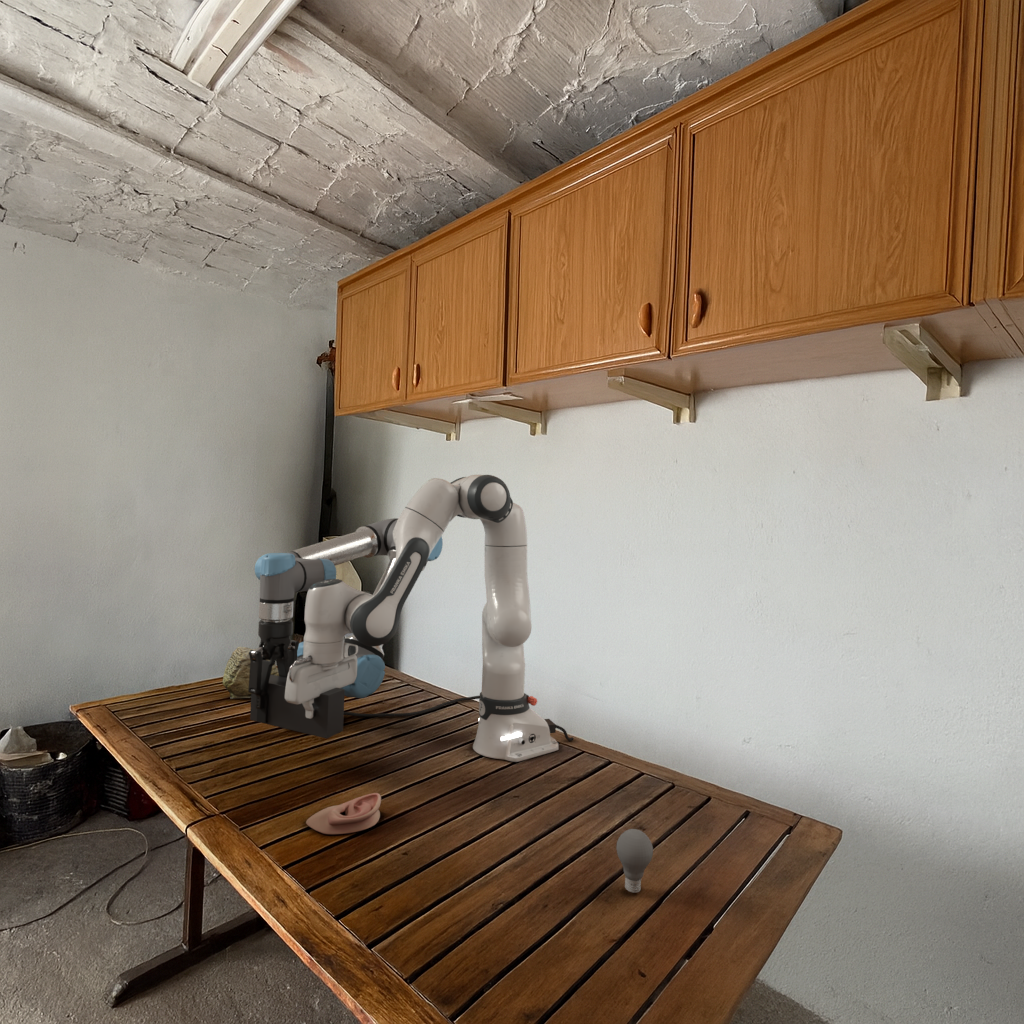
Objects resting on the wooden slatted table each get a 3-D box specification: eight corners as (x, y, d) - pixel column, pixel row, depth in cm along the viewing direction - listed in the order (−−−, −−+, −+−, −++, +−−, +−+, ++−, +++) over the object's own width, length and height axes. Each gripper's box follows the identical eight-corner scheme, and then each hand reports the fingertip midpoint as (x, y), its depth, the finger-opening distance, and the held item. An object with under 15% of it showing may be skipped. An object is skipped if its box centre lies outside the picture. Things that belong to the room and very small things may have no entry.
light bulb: (610, 879, 108) (613, 822, 108) (644, 879, 109) (647, 822, 109) (619, 902, 102) (622, 840, 102) (655, 901, 103) (658, 840, 103)
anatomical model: (298, 809, 120) (327, 783, 131) (297, 830, 120) (327, 802, 131) (363, 819, 117) (388, 791, 128) (362, 840, 117) (387, 811, 128)
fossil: (218, 695, 195) (220, 647, 195) (278, 685, 208) (279, 640, 207) (228, 703, 189) (230, 653, 188) (289, 692, 201) (290, 645, 201)
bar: (250, 720, 148) (251, 679, 148) (267, 713, 153) (269, 673, 153) (326, 738, 139) (328, 695, 138) (343, 730, 144) (344, 689, 143)
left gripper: (257, 628, 138) (253, 733, 139) (315, 615, 155) (312, 709, 156) (232, 623, 141) (228, 727, 142) (292, 611, 158) (288, 704, 159)
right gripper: (302, 663, 132) (299, 729, 132) (362, 645, 150) (360, 702, 151) (278, 659, 134) (276, 724, 134) (341, 641, 153) (339, 698, 153)
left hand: (272, 717), depth 149 cm, fingers closed on bar, 5 cm apart
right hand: (321, 712), depth 143 cm, fingers closed on bar, 5 cm apart
